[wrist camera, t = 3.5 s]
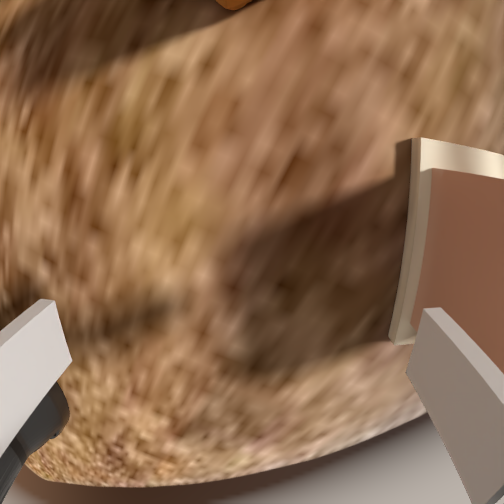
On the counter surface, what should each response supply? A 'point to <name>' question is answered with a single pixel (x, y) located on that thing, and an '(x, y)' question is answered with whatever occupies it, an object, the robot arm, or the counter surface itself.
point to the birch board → (422, 162)
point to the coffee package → (233, 3)
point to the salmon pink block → (465, 257)
